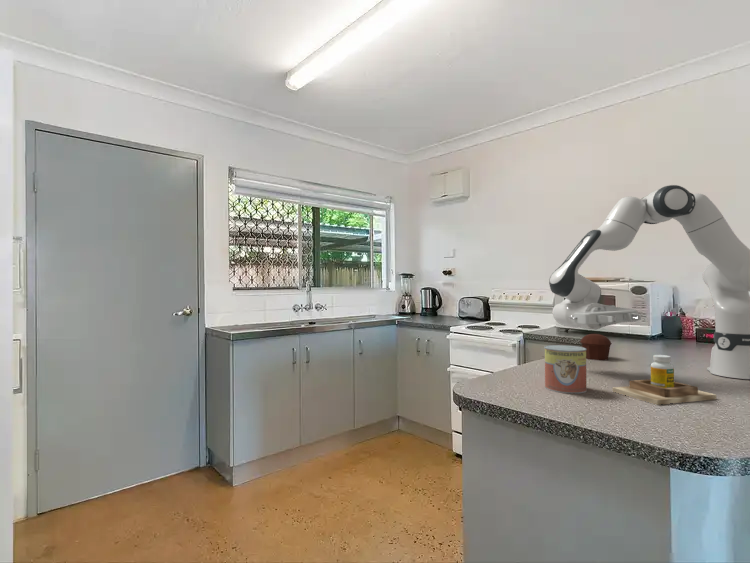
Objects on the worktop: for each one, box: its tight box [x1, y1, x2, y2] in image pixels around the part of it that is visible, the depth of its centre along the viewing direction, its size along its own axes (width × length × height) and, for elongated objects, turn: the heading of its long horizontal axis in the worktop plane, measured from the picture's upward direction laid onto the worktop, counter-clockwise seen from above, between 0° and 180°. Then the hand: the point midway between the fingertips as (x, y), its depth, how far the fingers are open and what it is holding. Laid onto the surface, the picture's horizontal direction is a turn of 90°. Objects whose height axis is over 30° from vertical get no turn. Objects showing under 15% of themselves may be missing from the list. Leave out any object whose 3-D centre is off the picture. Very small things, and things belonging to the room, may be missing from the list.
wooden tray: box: [611, 378, 718, 406], centre depth 116 cm, size 20×14×3 cm
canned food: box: [543, 344, 588, 394], centre depth 124 cm, size 11×11×12 cm
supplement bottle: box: [650, 354, 675, 388], centre depth 116 cm, size 5×5×10 cm
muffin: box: [579, 333, 612, 361], centre depth 176 cm, size 12×11×10 cm
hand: (626, 318), depth 128 cm, fingers open, 8 cm apart
